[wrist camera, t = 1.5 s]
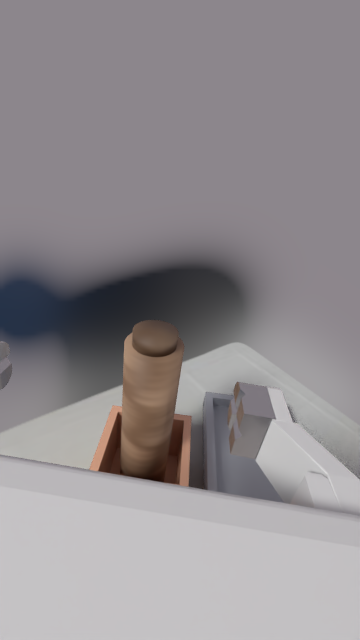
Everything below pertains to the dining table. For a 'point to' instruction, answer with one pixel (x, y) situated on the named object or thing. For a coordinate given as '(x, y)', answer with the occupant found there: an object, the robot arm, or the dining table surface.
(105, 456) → the orange open box
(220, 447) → the tray
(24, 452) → the dining table surface
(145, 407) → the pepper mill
